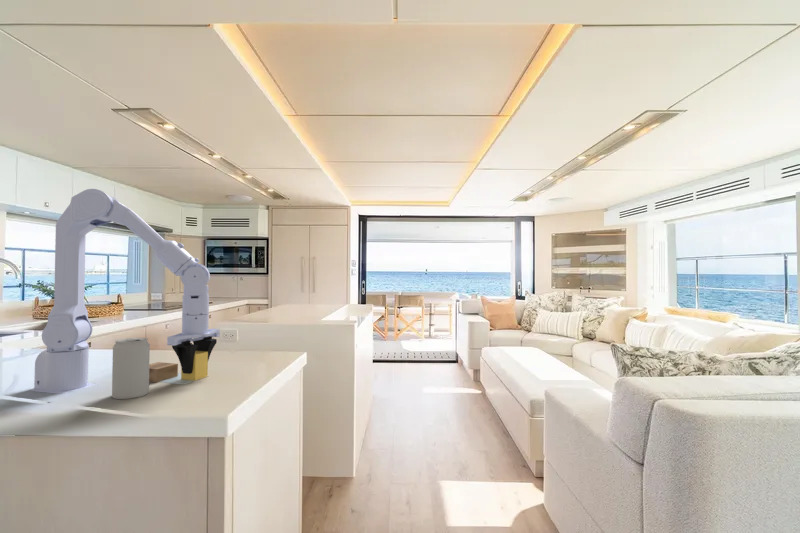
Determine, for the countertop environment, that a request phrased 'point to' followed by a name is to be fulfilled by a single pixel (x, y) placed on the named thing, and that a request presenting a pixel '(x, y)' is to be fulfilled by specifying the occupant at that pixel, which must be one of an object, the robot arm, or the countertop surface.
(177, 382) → the plate
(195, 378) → the ochre brick
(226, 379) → the countertop surface
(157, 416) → the countertop surface
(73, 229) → the robot arm
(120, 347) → the beverage can
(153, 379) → the walnut base brick
